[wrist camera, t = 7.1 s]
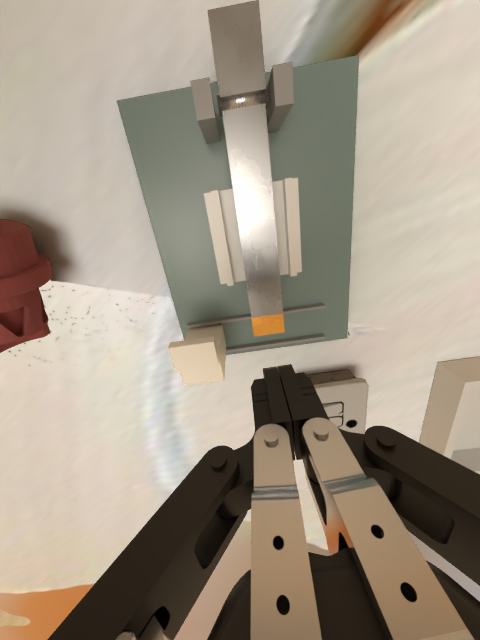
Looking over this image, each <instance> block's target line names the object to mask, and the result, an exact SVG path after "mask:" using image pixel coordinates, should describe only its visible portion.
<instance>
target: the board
mask: <svg viewBox="0 0 480 640" xmlns="http://www.w3.org/2000/svg"><path fill="white" fill-rule="evenodd" d="M358 66H359V55H358V56H352V57H347V58H342V59H336V60H331V61H326V62H320V63H315V64H310V65H304V66H299V67H294V68H292V62H289V63H284V64H278V65H273V67H272V70H271V72H267V73H265V83H266V85H267V89H268V108H267V109H266V118H267V129H268V141H269V153H270V165H271V176H272V188H273V200H274V212H275V223H276V235H277V247H278V259H279V270H280V282H281V294H282V306H283V317H284V329H285V332H284V333H277V334H270V335H263V336H256V337H254V334H253V327H252V320H251V313H250V306H249V298H248V291H247V284H246V277H245V270H244V263H243V256H242V249H241V242H240V235H239V228H238V221H237V214H236V207H235V200H234V193H233V186H232V179H231V172H230V165H229V158H228V151H227V144H226V137H225V130H224V123H223V117H220V115H219V108H218V101H217V95H216V94H219V89H218V82H214V83H210V80H209V78H204V79H199V80H193V81H190V82H191V87H187V88H182V89H176V90H171V91H166V92H160V93H155V94H150V95H144V96H139V97H134V98H128V99H123V100H118V101H117V104H118V107H119V111H120V114H121V118H122V121H123V125H124V128H125V132H126V135H127V139H128V143H129V146H130V150H131V153H132V157H133V160H134V164H135V167H136V171H137V174H138V178H139V182H140V185H141V189H142V192H143V196H144V199H145V203H146V206H147V210H148V214H149V217H150V221H151V224H152V228H153V231H154V235H155V238H156V242H157V245H158V249H159V253H160V256H161V260H162V263H163V267H164V270H165V274H166V277H167V281H168V285H169V288H170V292H171V295H172V299H173V302H174V306H175V309H176V313H177V316H178V320H179V324H180V327H181V331H182V334H183V338H184V340H185V337H186V335H187V332H188V330H189V328H192V327H199V326H206V325H212V324H219V323H222V325H223V330H224V335H225V340H226V355H230V354H237V353H244V352H251V351H258V350H265V349H273V348H280V347H287V346H294V345H301V344H308V343H315V342H322V341H330V340H337V339H344V338H347V331H348V307H349V283H350V259H351V235H352V210H353V186H354V162H355V138H356V114H357V90H358Z"/></svg>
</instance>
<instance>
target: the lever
mask: <svg viewBox="0 0 480 640" xmlns="http://www.w3.org/2000/svg"><path fill="white" fill-rule="evenodd" d="M208 17H209V25H210V32H211V40H212V47H213V54H214V61H215V68H216V75H217V82H218V89H219V94H216V95H217V101H218V108H219V115H220V117H223V123H224V130H225V137H226V144H227V151H228V158H229V165H230V172H231V179H232V186H233V193H234V200H235V207H236V214H237V221H238V228H239V235H240V242H241V249H242V256H243V263H244V270H245V277H246V284H247V291H248V298H249V306H250V313H251V320H252V327H253V334H254V337H256V336H263V335H270V334H277V333H284V332H285V329H284V317H283V306H282V294H281V282H280V270H279V259H278V247H277V235H276V223H275V212H274V200H273V188H272V176H271V165H270V153H269V141H268V129H267V118H266V109H267V108H268V89H267V85H266V83H265V71H264V59H263V47H262V35H261V23H260V11H259V0H256V1H251V2H246V3H241V4H236V5H231V6H226V7H221V8H216V9H211V10H208Z"/></svg>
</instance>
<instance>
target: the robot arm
mask: <svg viewBox="0 0 480 640" xmlns="http://www.w3.org/2000/svg"><path fill="white" fill-rule="evenodd" d="M263 374H264V378H263V379H256V380H254V382H253V384H252V386H251V391H252V401H253V411H254V421H255V433H254V436H253V438H252V439H251V440H250V441H249V442H248V443H247V444H246V445H244V446H242V447H240V448H238V449H236V450H233V449H232V448H230V447H228V446H217V447H214V448H212V449H211V450H209V451H208V452H207V453H206V454H205V455H204V456H203V458H202V459H201V460H200V461H199V462H198V464H197V465H196V466H195V467H194V468H193V469H192V471H191V472H190V473H189V474H188V475H187V476H186V478H185V479H184V480H183V481H182V482H181V484H180V485H179V486H178V487H177V488H176V489H175V491H174V492H173V493H172V494H171V495H170V496H169V498H168V499H167V500H166V501H165V502H164V503H163V505H162V506H161V507H160V508H159V509H158V511H157V512H156V513H155V514H154V515H153V516H152V518H151V519H150V520H149V521H148V522H147V523H146V525H145V526H144V527H143V528H142V529H141V530H140V532H139V533H138V534H137V535H136V536H135V538H134V539H133V540H132V541H131V542H130V543H129V545H128V546H127V547H126V548H125V549H124V550H123V552H122V553H121V554H120V555H119V556H118V557H117V559H116V560H115V561H114V562H113V563H112V565H111V566H110V567H109V568H108V569H107V570H106V572H105V573H104V574H103V575H102V576H101V577H100V579H99V580H98V581H97V582H96V583H95V584H94V586H93V587H92V588H91V589H90V590H89V592H88V593H87V594H86V595H85V596H84V598H83V599H82V600H81V601H80V602H79V603H78V604H77V606H76V607H75V608H74V609H73V610H72V612H71V613H70V614H69V615H68V616H67V617H66V619H65V620H64V621H63V622H62V623H61V624H60V626H59V627H58V628H57V629H56V631H54V633H53V634H52V635H51V636H50V637H49V639H48V640H174V638H175V636H176V634H177V633H178V631H179V629H180V627H181V626H182V624H183V623H184V621H185V619H186V617H187V616H188V614H189V612H190V610H191V609H192V607H193V605H194V603H195V602H196V600H197V598H198V597H199V595H200V593H201V591H202V590H203V588H204V586H205V585H206V583H207V581H208V580H209V578H210V576H211V574H212V572H213V571H214V569H215V567H216V566H217V564H218V562H219V560H220V559H221V557H222V555H223V554H224V552H225V550H226V549H227V547H228V545H229V543H230V542H231V540H232V538H233V536H234V535H235V533H236V531H237V530H238V528H239V526H240V524H241V523H242V521H243V519H244V518H245V516H246V514H247V511H248V510H249V509H251V569H250V570H249V571H248V572H246V573H245V574H244V576H242V577H241V578H240V580H239V581H238V582H237V583H236V585H235V586H234V587H233V589H232V591H231V592H230V594H229V595H228V598H227V599H226V601H225V603H224V605H223V607H222V610H221V612H220V614H219V616H218V618H217V620H216V622H215V624H214V626H213V629H212V631H211V633H210V635H209V637H208V639H207V640H480V602H479V601H478V600H477V599H476V598H474V597H473V596H472V595H471V594H470V593H469V592H467V591H466V590H465V589H464V588H462V587H461V586H460V585H459V584H458V583H457V582H455V581H454V580H453V579H452V578H450V577H449V576H448V575H447V574H445V573H444V572H443V571H442V570H440V569H439V568H437V567H436V566H435V565H433V564H431V563H430V562H428V561H426V560H425V558H424V557H423V555H422V554H421V552H420V550H419V549H418V547H417V545H416V544H415V542H414V540H413V539H412V537H411V536H410V534H409V532H411V533H412V534H413V535H415V536H416V537H417V538H418V539H420V540H421V541H422V542H424V543H425V544H426V545H427V546H429V547H430V548H431V549H433V550H434V551H435V552H437V553H438V554H439V555H441V556H442V557H443V558H444V559H446V560H447V561H448V562H450V563H451V564H452V565H454V566H455V567H456V568H457V569H459V570H460V571H461V572H462V573H464V574H465V575H466V576H468V577H469V578H470V579H472V580H473V581H474V582H476V583H477V584H478V585H479V586H480V474H478V473H476V472H474V471H472V470H470V469H469V468H467V467H465V466H463V465H461V464H459V463H457V462H455V461H453V460H451V459H449V458H447V457H445V456H443V455H442V454H440V453H438V452H436V451H434V450H432V449H430V448H428V447H426V446H424V445H422V444H420V443H418V442H417V441H415V440H413V439H411V438H409V437H407V436H405V435H403V434H401V433H399V432H397V431H395V430H393V429H391V428H388V427H385V426H373V427H370V428H369V429H367V430H366V432H365V434H360V433H354V432H348V431H345V430H342V429H340V428H338V427H337V426H336V425H335V424H334V423H333V422H331V421H330V420H329V418H328V416H327V414H326V411H325V409H324V407H323V405H322V403H321V400H320V398H319V396H318V394H317V392H316V390H315V388H314V385H313V383H312V381H311V379H310V378H309V377H308V376H307V375H306V374H304V373H297V374H295V372H294V370H293V367H292V365H291V364H290V365H283V366H277V367H270V368H263ZM294 451H295V453H294ZM295 455H296V459H297V460H299V459H303V463H304V466H305V474H306V480H307V483H308V485H309V488H310V491H311V494H312V497H313V500H314V503H315V506H316V508H317V511H318V514H319V517H320V520H321V523H322V526H323V529H324V532H325V536H326V540H327V545H328V549H329V553H330V556H323V555H319V554H314V553H310V552H308V549H307V543H306V536H305V530H304V524H303V518H302V511H301V505H300V499H299V493H298V490H297V485H296V478H295V472H294V464H293V460H295ZM407 530H408V531H409V532H408V531H407Z"/></svg>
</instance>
